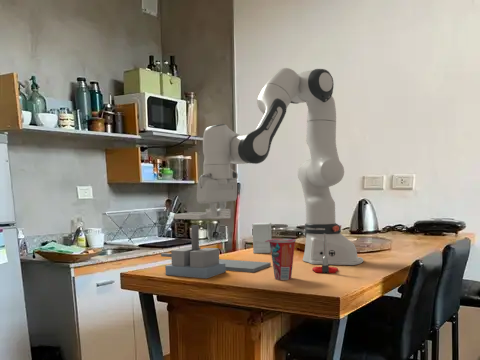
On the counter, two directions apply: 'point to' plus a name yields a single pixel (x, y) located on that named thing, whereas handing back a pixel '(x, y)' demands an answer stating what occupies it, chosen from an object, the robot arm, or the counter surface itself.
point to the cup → (282, 257)
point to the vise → (194, 260)
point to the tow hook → (325, 261)
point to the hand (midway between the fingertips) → (218, 216)
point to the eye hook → (204, 214)
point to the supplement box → (261, 237)
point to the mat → (244, 265)
